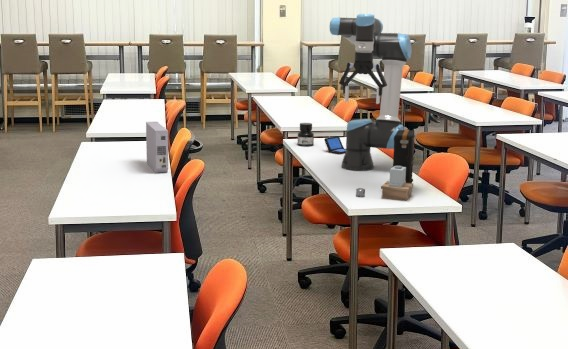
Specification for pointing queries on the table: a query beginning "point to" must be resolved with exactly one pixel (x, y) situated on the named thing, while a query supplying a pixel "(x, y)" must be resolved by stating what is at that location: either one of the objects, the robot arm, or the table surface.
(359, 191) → the dark grey metallic dome
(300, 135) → the ink bottle
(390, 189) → the stand
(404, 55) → the robot arm
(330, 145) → the handheld game console
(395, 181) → the housing
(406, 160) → the black carrying case
